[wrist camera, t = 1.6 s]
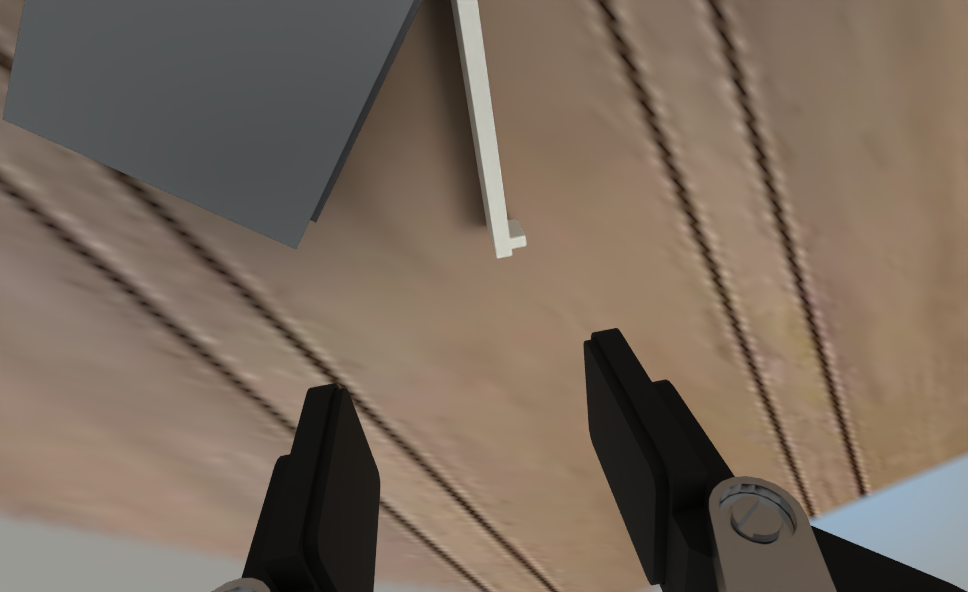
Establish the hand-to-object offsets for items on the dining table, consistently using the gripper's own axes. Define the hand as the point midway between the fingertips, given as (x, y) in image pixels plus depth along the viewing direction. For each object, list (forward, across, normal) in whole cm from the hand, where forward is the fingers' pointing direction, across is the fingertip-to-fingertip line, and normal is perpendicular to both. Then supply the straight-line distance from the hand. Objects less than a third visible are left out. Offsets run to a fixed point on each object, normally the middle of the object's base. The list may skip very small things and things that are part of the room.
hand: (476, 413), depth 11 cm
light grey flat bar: (+19, -3, -3) cm, 20 cm away
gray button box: (+19, +7, -8) cm, 22 cm away
